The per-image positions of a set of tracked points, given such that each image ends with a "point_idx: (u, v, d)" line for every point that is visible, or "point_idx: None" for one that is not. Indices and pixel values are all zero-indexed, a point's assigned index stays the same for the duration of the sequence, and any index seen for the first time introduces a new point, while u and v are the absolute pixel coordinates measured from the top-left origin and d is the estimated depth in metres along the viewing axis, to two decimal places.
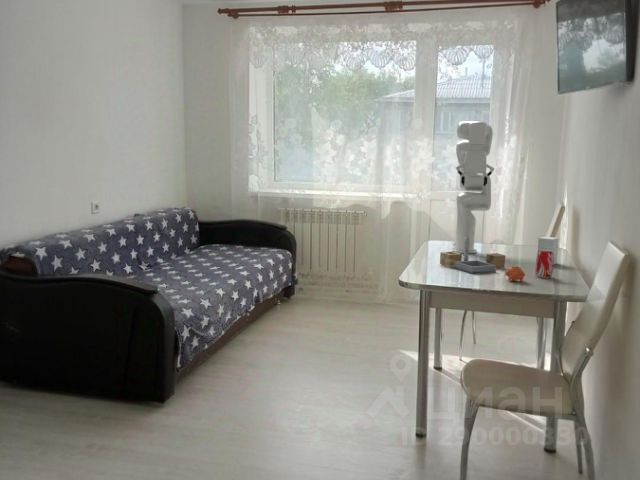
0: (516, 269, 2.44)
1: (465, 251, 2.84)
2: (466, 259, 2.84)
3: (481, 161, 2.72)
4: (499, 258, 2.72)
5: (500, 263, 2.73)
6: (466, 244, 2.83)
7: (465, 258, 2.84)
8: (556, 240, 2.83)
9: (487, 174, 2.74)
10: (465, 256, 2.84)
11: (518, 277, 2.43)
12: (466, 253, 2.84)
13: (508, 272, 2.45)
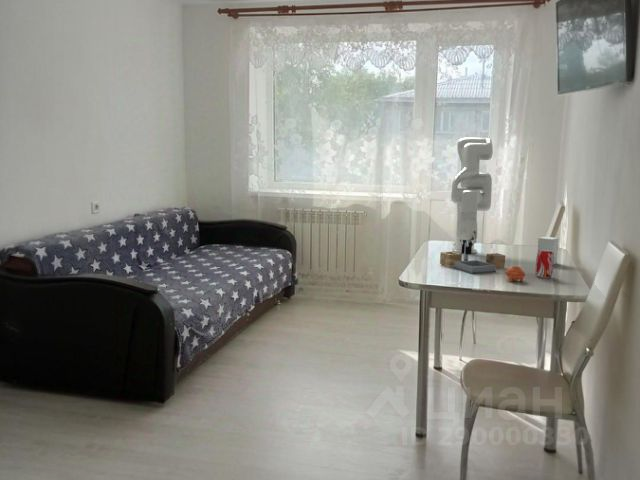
0: (516, 269, 2.44)
1: None
2: (466, 259, 2.84)
3: None
4: (499, 258, 2.72)
5: (500, 263, 2.72)
6: (466, 244, 2.83)
7: (465, 258, 2.84)
8: (556, 240, 2.83)
9: None
10: (465, 256, 2.84)
11: (518, 277, 2.43)
12: None
13: (508, 272, 2.45)
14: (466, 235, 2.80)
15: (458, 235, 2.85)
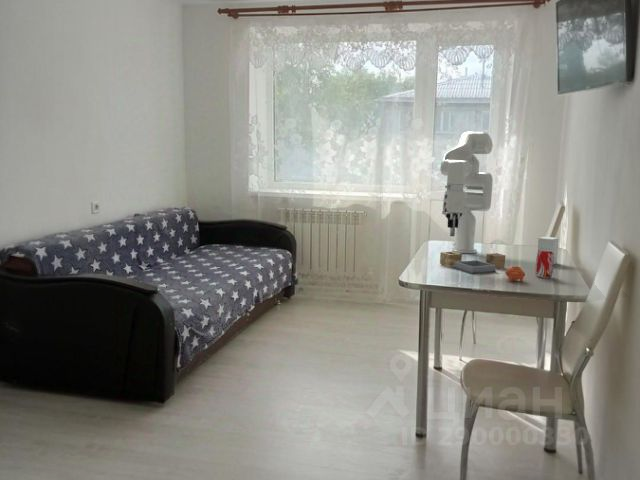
0: (516, 269, 2.44)
1: (454, 224, 2.73)
2: None
3: None
4: (499, 258, 2.72)
5: (500, 263, 2.72)
6: (455, 217, 2.73)
7: (454, 232, 2.74)
8: (556, 240, 2.83)
9: None
10: (454, 230, 2.74)
11: (518, 277, 2.44)
12: None
13: (508, 272, 2.45)
14: (462, 207, 2.71)
15: (451, 209, 2.69)
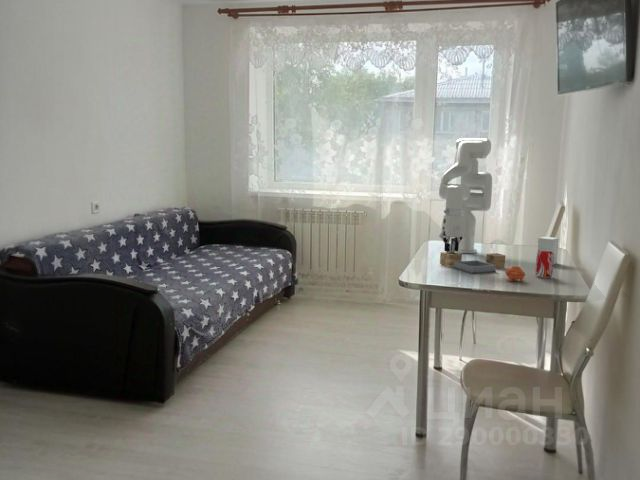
0: (516, 269, 2.44)
1: None
2: None
3: None
4: (499, 258, 2.72)
5: (500, 263, 2.72)
6: (454, 245, 2.75)
7: None
8: (556, 240, 2.83)
9: None
10: None
11: (518, 277, 2.44)
12: None
13: (508, 272, 2.45)
14: (461, 231, 2.73)
15: (450, 234, 2.71)
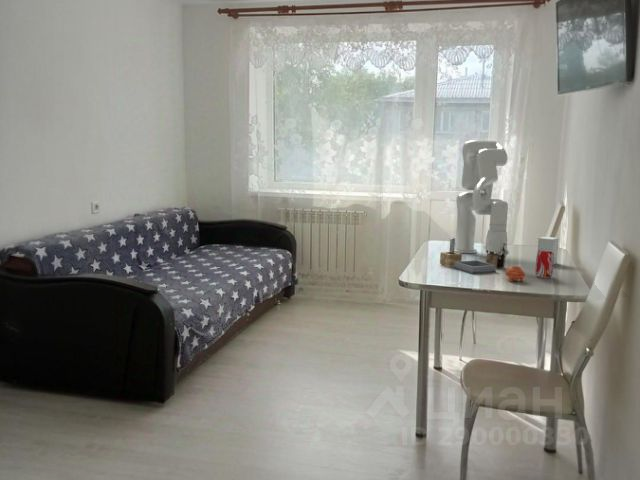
0: (516, 269, 2.44)
1: (453, 252, 2.75)
2: None
3: None
4: None
5: None
6: (454, 245, 2.75)
7: None
8: (556, 240, 2.83)
9: (491, 252, 2.79)
10: None
11: (518, 277, 2.44)
12: None
13: (508, 272, 2.45)
14: (495, 247, 2.70)
15: (487, 247, 2.76)
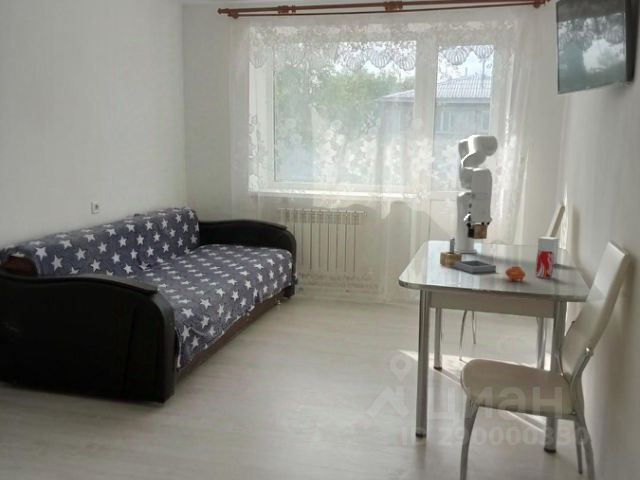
0: (516, 269, 2.44)
1: (453, 252, 2.75)
2: None
3: None
4: None
5: None
6: (454, 245, 2.75)
7: None
8: (556, 240, 2.83)
9: None
10: None
11: (518, 277, 2.44)
12: None
13: (508, 272, 2.45)
14: (487, 217, 2.62)
15: (476, 219, 2.60)
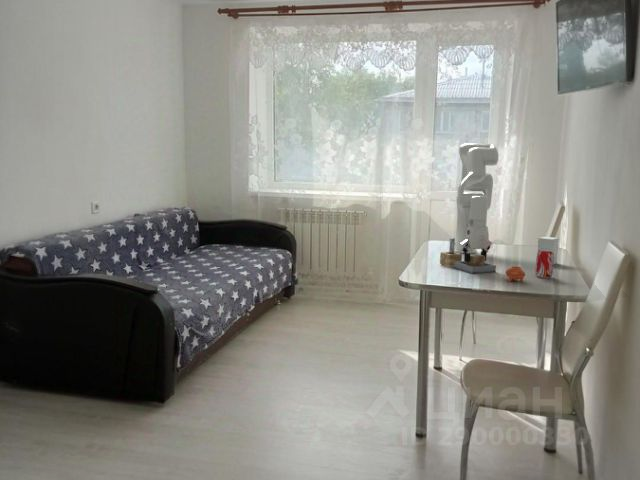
0: (516, 269, 2.44)
1: (453, 252, 2.75)
2: None
3: None
4: None
5: None
6: (454, 244, 2.75)
7: None
8: (556, 240, 2.83)
9: None
10: None
11: (518, 277, 2.44)
12: None
13: (508, 272, 2.45)
14: (485, 243, 2.64)
15: (474, 246, 2.62)
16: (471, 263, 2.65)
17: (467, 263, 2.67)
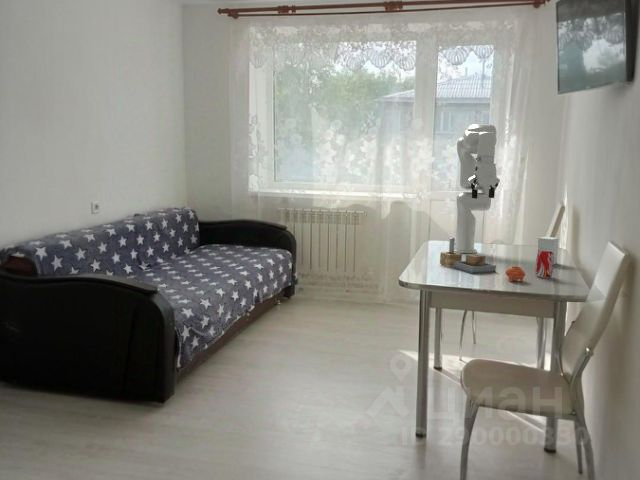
0: (516, 269, 2.44)
1: (453, 252, 2.75)
2: None
3: None
4: None
5: None
6: (453, 245, 2.75)
7: None
8: (556, 240, 2.83)
9: None
10: None
11: (518, 277, 2.44)
12: None
13: (508, 272, 2.45)
14: (493, 180, 2.65)
15: (482, 182, 2.62)
16: (471, 263, 2.65)
17: (467, 263, 2.67)
